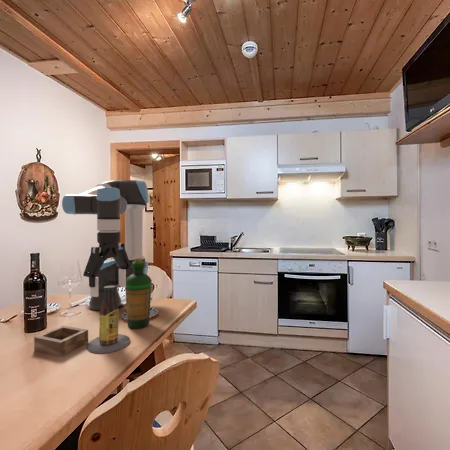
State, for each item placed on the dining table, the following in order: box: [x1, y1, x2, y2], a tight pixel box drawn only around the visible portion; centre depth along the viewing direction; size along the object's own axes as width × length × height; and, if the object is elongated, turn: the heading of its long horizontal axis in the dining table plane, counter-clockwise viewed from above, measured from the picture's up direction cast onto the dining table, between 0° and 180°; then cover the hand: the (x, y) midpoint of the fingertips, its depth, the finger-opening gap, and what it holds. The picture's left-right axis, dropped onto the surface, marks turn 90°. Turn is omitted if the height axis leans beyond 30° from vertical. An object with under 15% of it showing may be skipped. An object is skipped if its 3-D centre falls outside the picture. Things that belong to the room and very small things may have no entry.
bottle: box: [124, 258, 153, 330], centre depth 115 cm, size 11×11×28 cm
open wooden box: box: [33, 325, 89, 357], centre depth 96 cm, size 11×12×4 cm
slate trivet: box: [86, 333, 131, 354], centre depth 98 cm, size 14×14×1 cm
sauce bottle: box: [98, 286, 120, 346], centre depth 98 cm, size 6×6×20 cm
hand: (109, 291), depth 98 cm, fingers open, 13 cm apart
